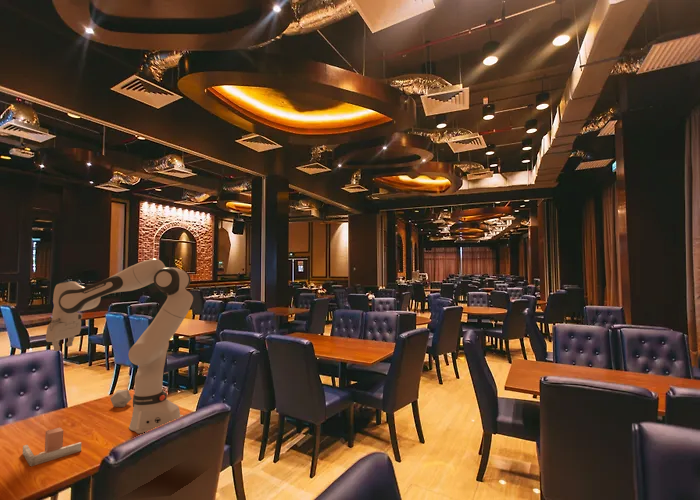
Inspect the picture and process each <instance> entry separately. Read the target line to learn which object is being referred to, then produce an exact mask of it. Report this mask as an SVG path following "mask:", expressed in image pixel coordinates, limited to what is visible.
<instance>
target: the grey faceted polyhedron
mask: <svg viewBox="0 0 700 500" xmlns="http://www.w3.org/2000/svg"><path fill="white" fill-rule="evenodd" d="M109 399H110V401H111V404H112V406H113V408H125V407H126V406H127V405H128V403H129V402H130V401H131V400H133V397H132V396H131V394H130V392H129V390H128V389H118V390H116V392H114V393H113V394H112V396H111V397H109Z"/></svg>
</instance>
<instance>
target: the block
mask: <svg viewBox="0 0 700 500" xmlns="http://www.w3.org/2000/svg"><path fill="white" fill-rule="evenodd" d="M44 435H45V438H44V451H45V452H48V451H52V450H55V449H58V448H62V447H64V445H63V443H64V429H62V426H61V427H57V428H56V427H55V428H52V429H47V430H45V434H44Z"/></svg>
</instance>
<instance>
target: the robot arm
mask: <svg viewBox="0 0 700 500" xmlns="http://www.w3.org/2000/svg"><path fill="white" fill-rule="evenodd" d="M191 278H192V277H191V276H190V274H189V272H187V270H184V269H180V268H177V267H167V266H166V265H165V264H164V262H163V261H162V260H160V259H158V258H150V259H147V260H143V261H140V262H138V263H135V264H133V265H130V266H128V267H126V268H124V269H123V270H121V271H119V272H117V273H114V274H113V275H111V276H110V277H108V278H105V279H103V280H100V281H98V282H96V283H93V284H91V285H88V286H86V287H85V286H83V285H80V284H79V283H78V282H77V281H74V280H73V281H71V280H70V281H63V282H59V283H57V284H56V285H55V286H54V289H53V296H52V297H53V298H52V303H53V309H52V314H51V315H52V316H51V318H52V319H51V321H50V322H49V324H48V325H47V327H46V333H45V341H46V342H47V343H51V345H52V346H53V351H54V352H58V351H61V346H60V341H62V340H65V339H68V340H67V342H66V347H72V346H73V342H74V340H75V336H77V335H78V336H79V335H80V333H81V332H82V331H81V330H82V320H83V314H81V313H79V312H83V311H87V310H89V311H90V310H92V309H96V308H97V307H99V305H100V303H101V299H102V298H101V297H104V296H107V295H109V294H115V293H121V292H122V293H123V292H132V291H136V290H138V289H141V288H144V287H147V286H149V285H151V284H154V285H155V286H156V288H157V289H158V290H159V291H160V292H161V293H162V294H163V295H164V296H166V297H167V298H166V300H165V301H164V303H163V304H162V306H161V308H160V309H159V311H158V312H157V314H156V315H155V317H154V319H153V320H152V322H151V323H150V324H149V325H148V326H147V328H146V329H145V330H144V331H143V332H142V334H141V335H140V336H139V338H138V339H137V340H136V341H135V343H134V344H133V345H132V346H131V347H130V348H129V350H128V356H127V357H128V360H129V361H130V362H131V363H132V364H133V365H135V366H138V368H137V372H136V373H135V377H134V393H133V397H132V408H133V409H132V415H131V421H130V423H129V426H128V429H129V430H130V431H133V432H136V434H145V433H144V432H146V431H148V430H151V429H153V428H155V427H158V426H160V425H162V424H165V423H167V422H169V421H172V420H174V419H177V418H179V417H181V416H183V415H184V414H181V411H180V407H179V405H177V404H176V403H174V402H172V401H171V400H169V399H168V397H167V396H168V391H164V390H163V379H164V377H163V376H164V370H165V369H164V368H165V365H166V364H165V363H166V360H167V359H166V358H167V352H168V349H169V347H170V342H169V341H170V340H171V339H172V337H173V336H174V335H175V334H176V332H177V331H178V329H179V327H180V326H181V324H182V323H183V321H184V319H185V318H186V316H187V315H188V313H189V311H190V309H191V306H192V304H193V301H194V296H193V294H192V293H191V292H190V291H188V290H187V288H188V287H190V284H191Z"/></svg>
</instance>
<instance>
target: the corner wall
mask: <svg viewBox="0 0 700 500" xmlns="http://www.w3.org/2000/svg"><path fill="white" fill-rule="evenodd" d="M79 452H82V442H81V441H79V442H75V443H72V444H69V445H66V446H63V447H62V448H58V449H55V450H52V451H48V452H45V450H44V451H42V452H39V453H38V454H36V455H35V454H34V453H33V452H32V450H31V448H30V446H29V445H28V444H25V445H22V455H23V457H24V459H25V460H26V462H27V464H28V466H29V467H30V466H31V467H33V466H36V465H40V464H44V463H46V462H50V461H54V460H56V459H60V458H63V457H66V456H69V455H73V454H76V453H79Z"/></svg>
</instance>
